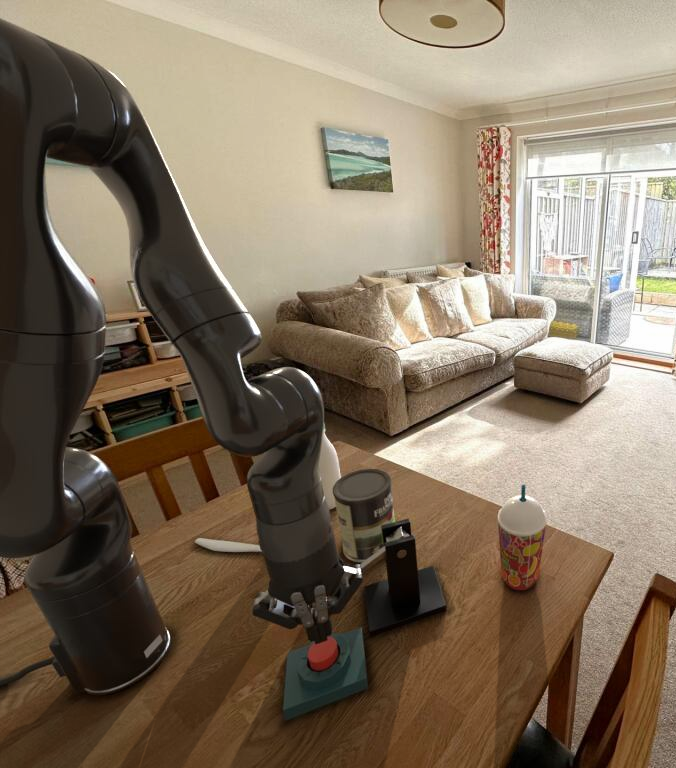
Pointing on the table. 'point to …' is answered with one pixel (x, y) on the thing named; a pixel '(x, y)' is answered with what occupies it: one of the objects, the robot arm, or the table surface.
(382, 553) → the lever
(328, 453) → the milk bottle
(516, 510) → the smoothie
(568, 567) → the table surface
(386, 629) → the bracket
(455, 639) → the table surface
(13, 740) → the table surface
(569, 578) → the table surface
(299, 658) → the button block
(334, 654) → the button
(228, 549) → the butter knife
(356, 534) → the coffee can
